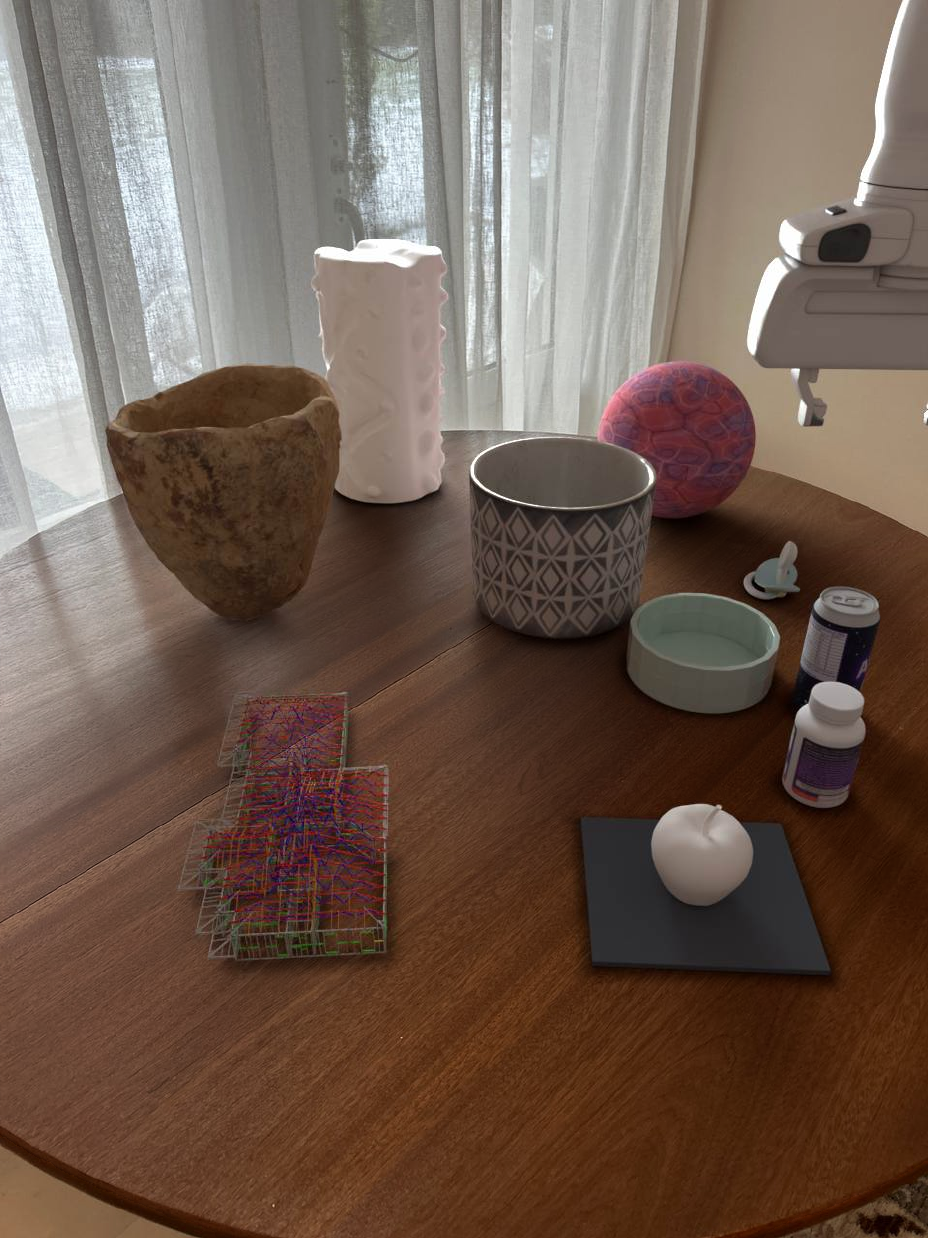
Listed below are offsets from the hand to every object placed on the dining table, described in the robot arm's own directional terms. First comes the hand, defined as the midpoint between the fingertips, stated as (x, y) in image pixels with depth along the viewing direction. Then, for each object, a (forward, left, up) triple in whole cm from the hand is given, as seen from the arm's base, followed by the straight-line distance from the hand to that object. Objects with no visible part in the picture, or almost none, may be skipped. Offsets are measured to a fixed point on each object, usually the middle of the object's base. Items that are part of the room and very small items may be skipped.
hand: (872, 425), depth 70 cm
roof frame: (+44, +14, -29) cm, 55 cm away
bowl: (+56, -19, -29) cm, 66 cm away
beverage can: (-3, -3, -29) cm, 30 cm away
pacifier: (-3, -26, -29) cm, 39 cm away
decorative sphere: (+6, -47, -29) cm, 56 cm away
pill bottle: (+1, +8, -29) cm, 30 cm away
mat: (+13, +20, -29) cm, 38 cm away
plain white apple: (+13, +20, -29) cm, 37 cm away
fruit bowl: (+8, -9, -29) cm, 31 cm away
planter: (+22, -21, -29) cm, 42 cm away
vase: (+45, -55, -29) cm, 77 cm away
